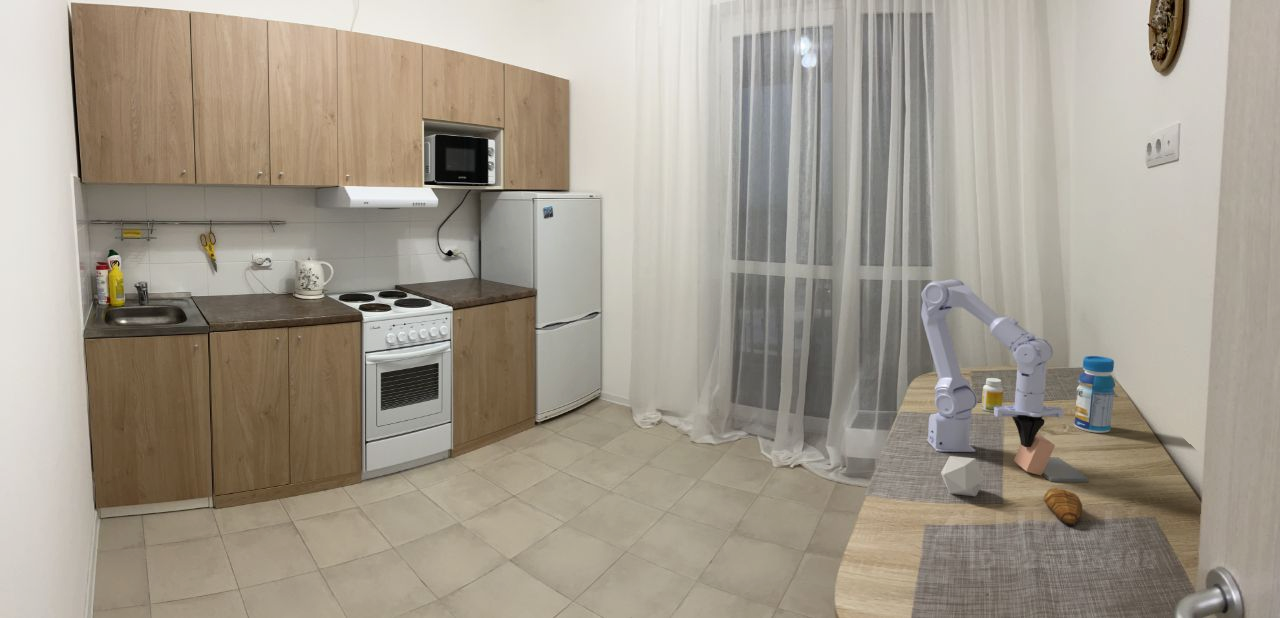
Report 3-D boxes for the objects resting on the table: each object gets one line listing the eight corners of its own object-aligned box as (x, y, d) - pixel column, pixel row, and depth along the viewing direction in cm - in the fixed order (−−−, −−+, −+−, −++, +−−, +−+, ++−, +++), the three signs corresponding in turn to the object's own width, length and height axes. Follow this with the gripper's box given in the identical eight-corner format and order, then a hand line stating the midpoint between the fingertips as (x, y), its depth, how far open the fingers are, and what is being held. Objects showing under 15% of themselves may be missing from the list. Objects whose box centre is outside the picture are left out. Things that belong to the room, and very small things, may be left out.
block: (1026, 471, 144) (1039, 440, 142) (1013, 460, 150) (1026, 431, 148) (1041, 475, 144) (1055, 445, 142) (1028, 465, 150) (1041, 435, 148)
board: (1050, 481, 141) (1050, 478, 141) (1023, 459, 153) (1024, 456, 152) (1087, 482, 140) (1088, 478, 140) (1058, 460, 152) (1058, 457, 151)
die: (971, 508, 131) (998, 471, 131) (933, 482, 135) (959, 446, 134) (965, 504, 139) (990, 469, 139) (929, 479, 142) (954, 446, 142)
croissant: (1091, 531, 120) (1093, 507, 119) (1050, 525, 123) (1052, 502, 122) (1072, 499, 133) (1074, 477, 132) (1035, 495, 135) (1037, 473, 134)
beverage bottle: (1106, 436, 165) (1114, 364, 162) (1069, 428, 171) (1075, 359, 168) (1114, 428, 170) (1121, 358, 167) (1078, 420, 177) (1084, 353, 173)
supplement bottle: (977, 408, 190) (979, 378, 188) (992, 406, 191) (994, 376, 189) (990, 413, 185) (992, 382, 183) (1005, 411, 186) (1008, 381, 184)
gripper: (1005, 395, 140) (1001, 451, 143) (1073, 395, 139) (1068, 452, 141) (991, 386, 147) (987, 440, 150) (1056, 386, 146) (1051, 440, 148)
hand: (1025, 445), depth 146 cm, fingers closed
